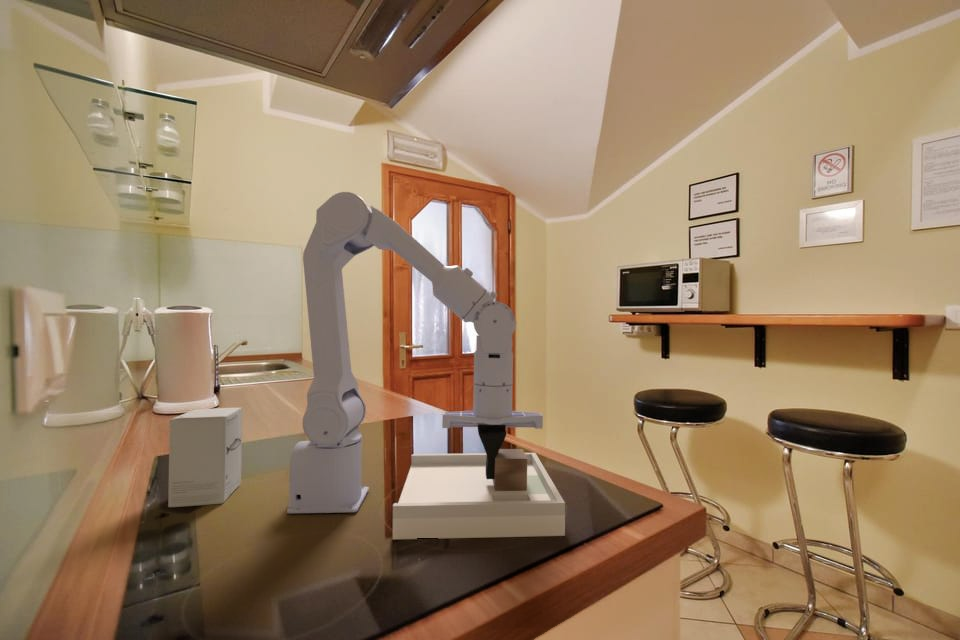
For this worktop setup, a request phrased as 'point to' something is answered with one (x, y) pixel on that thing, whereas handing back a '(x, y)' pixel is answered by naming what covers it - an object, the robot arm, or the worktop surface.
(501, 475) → the walnut block
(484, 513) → the box
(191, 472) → the supplement box
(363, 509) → the worktop surface
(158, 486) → the worktop surface
